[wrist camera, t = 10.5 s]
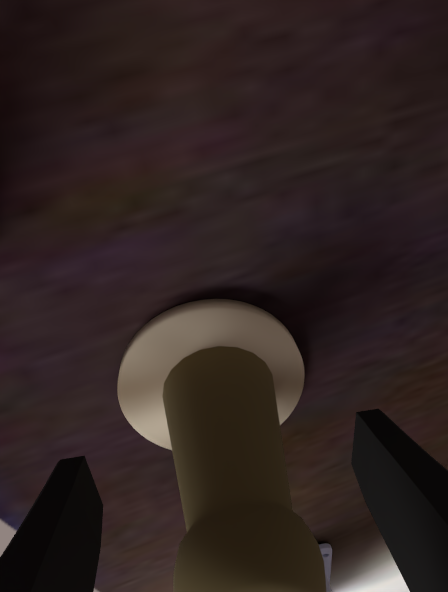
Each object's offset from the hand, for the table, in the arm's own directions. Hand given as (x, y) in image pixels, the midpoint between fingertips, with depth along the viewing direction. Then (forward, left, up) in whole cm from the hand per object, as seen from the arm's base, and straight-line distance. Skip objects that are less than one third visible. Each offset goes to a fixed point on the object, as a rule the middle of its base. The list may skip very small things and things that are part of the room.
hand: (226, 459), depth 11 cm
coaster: (-6, 0, -10) cm, 12 cm away
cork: (-6, 0, -10) cm, 11 cm away
